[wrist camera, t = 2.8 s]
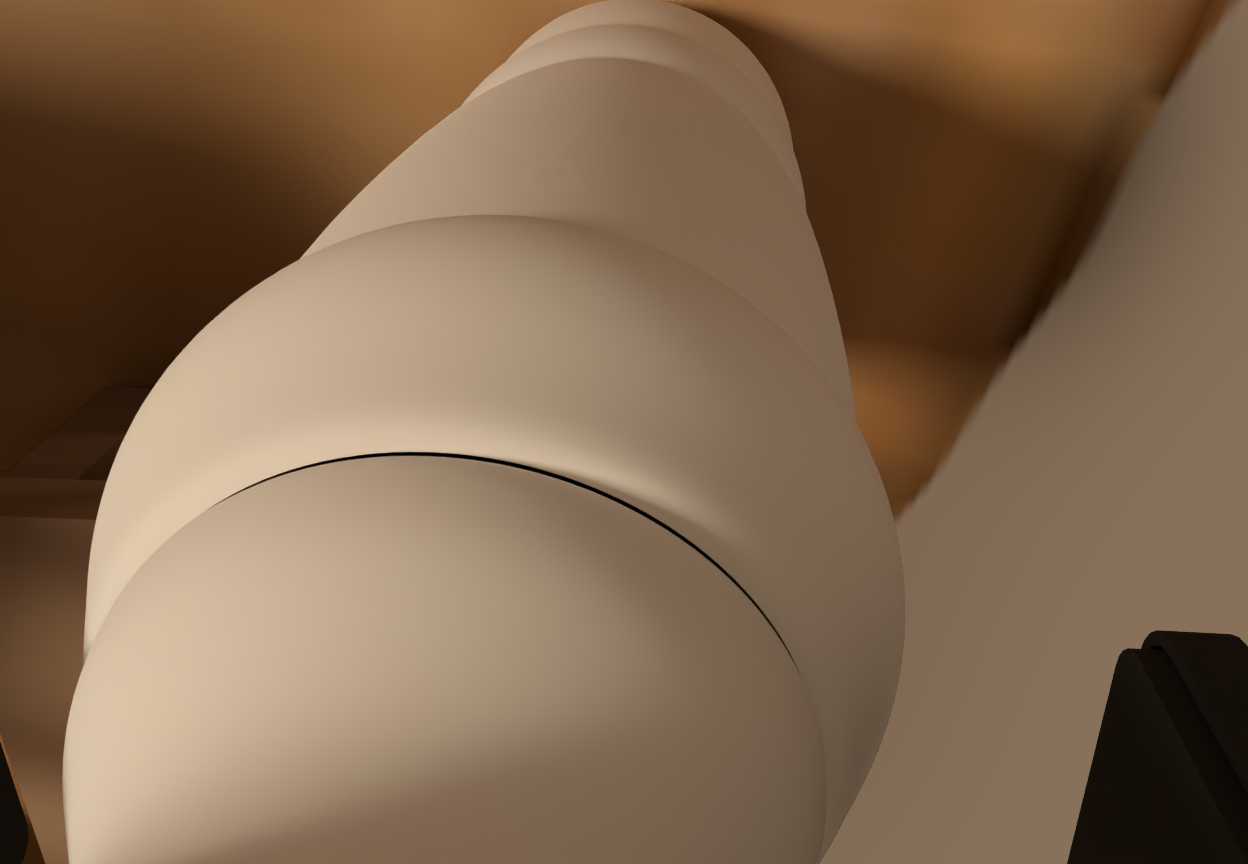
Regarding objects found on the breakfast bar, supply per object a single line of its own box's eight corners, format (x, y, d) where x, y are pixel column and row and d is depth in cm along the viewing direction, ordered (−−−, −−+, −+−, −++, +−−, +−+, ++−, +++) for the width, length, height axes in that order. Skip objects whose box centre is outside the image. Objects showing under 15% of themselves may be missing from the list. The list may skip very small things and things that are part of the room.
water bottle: (460, 257, 27) (-772, 2096, 5) (520, -47, 24) (-2592, 1280, 1) (736, 333, 27) (809, 2383, 5) (833, 44, 24) (2257, 2244, 2)
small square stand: (94, 376, 29) (-75, 513, 23) (618, 391, 28) (589, 540, 22) (190, 770, 36) (78, 960, 29) (620, 793, 35) (598, 996, 28)
